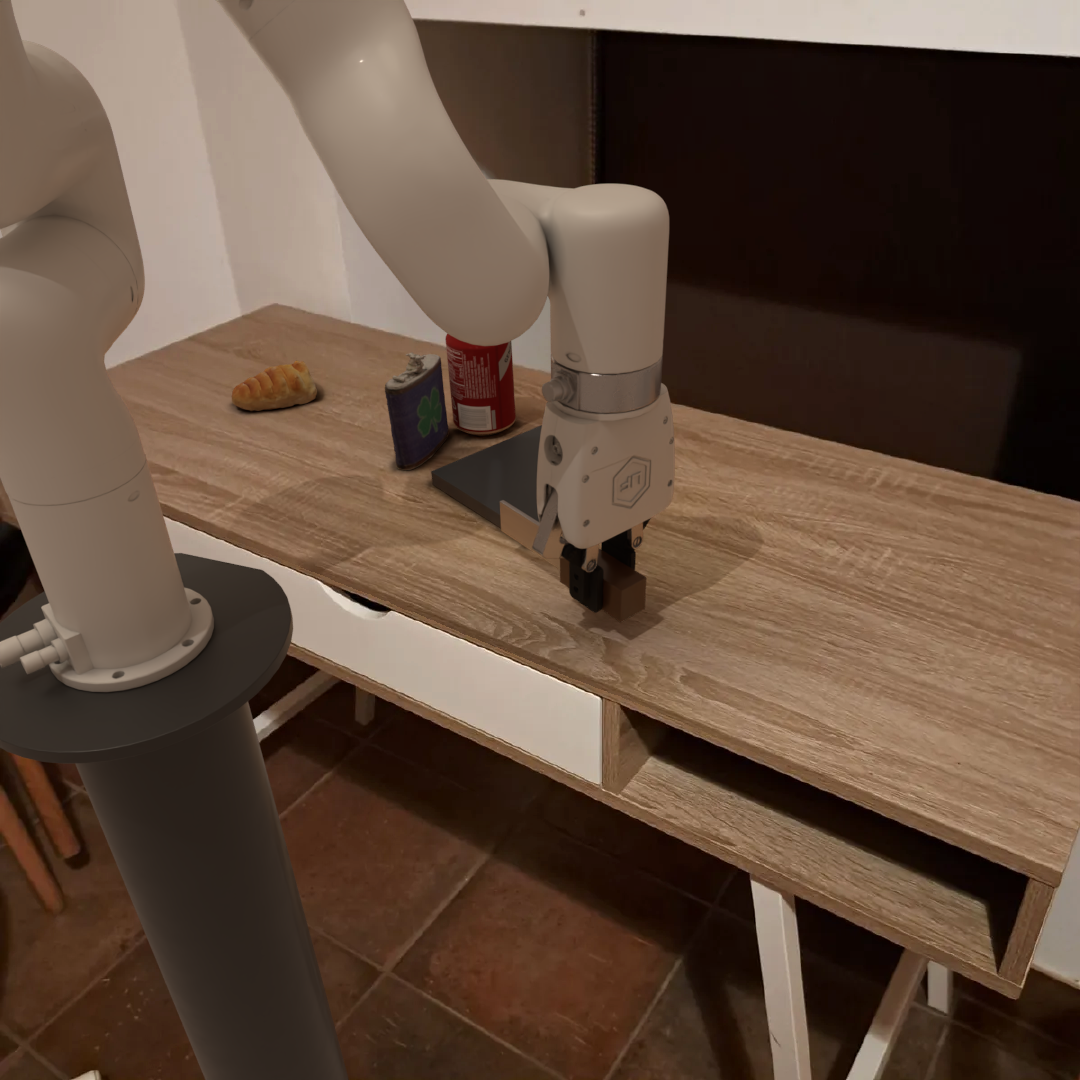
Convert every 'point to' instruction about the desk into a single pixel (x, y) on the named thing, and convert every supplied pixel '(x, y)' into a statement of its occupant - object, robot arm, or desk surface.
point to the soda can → (481, 386)
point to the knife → (619, 580)
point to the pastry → (276, 388)
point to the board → (495, 477)
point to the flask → (417, 411)
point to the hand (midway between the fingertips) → (601, 593)
